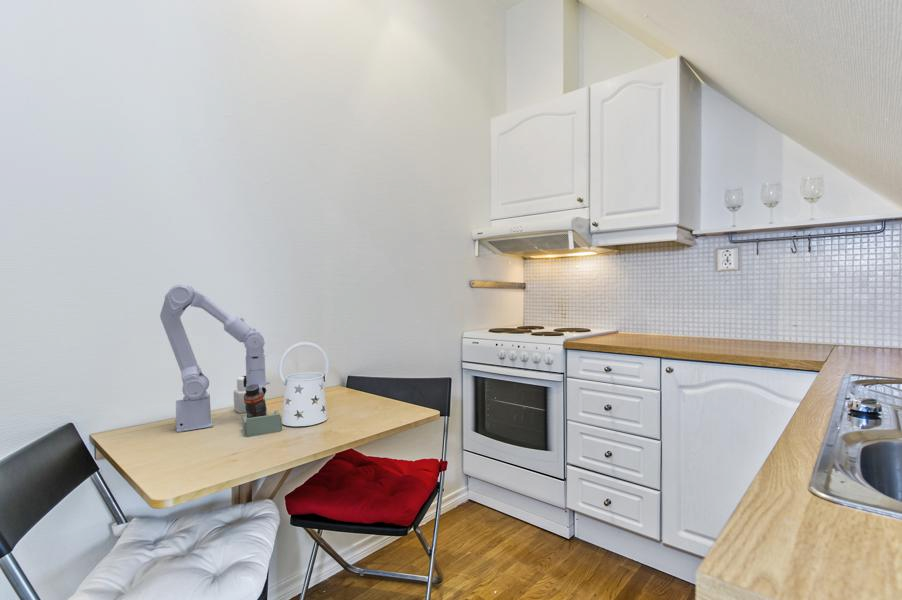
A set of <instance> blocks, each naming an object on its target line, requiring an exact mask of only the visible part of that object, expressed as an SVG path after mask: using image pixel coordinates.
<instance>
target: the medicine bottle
mask: <svg viewBox="0 0 902 600" xmlns="http://www.w3.org/2000/svg"><path fill="white" fill-rule="evenodd" d="M246 384H247V380H246V375H242V376H239V377H237V378H236V389H234V390H233V410H234V411H235V412H237V413H238V414H241V415H242V414H245V413H246V408H245V403H244V395H245V393H246ZM246 414H247V413H246Z"/></svg>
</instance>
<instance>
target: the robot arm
mask: <svg viewBox="0 0 902 600" xmlns="http://www.w3.org/2000/svg"><path fill="white" fill-rule="evenodd" d="M189 306H190V307H195V308H200V309H202V310H203V311H205V312H207V313H208V314H210V315H211V316H212V317H214V318H215V319H216V320H217V321H219V322H220V323H221V324H223V330H224V331H225V332H226V333H227V334H228V335H230V336H232V338H233V339H235V340H236V341H238V342H239V343H243V344H244V345H243V346H244V348H245V353H246V354H245V372H246V373H245V374H246V375H245V376H246V380H247V384H246V387H247V386H249V385H252V384H258V385H259V393H262V391H263V392H264V396H265V395H266V393H267V389H266V385H270V383H271V382H270V381H269V380H267V381H266V379H267V378H266V357H265V356H266V355H265V354H264V353H265V348H264V346H265V344H266V343H265V338H264V336H263V334H261V332H259V331H257V328H255V327H251V326H250V325H249V324H248V323H246V321H245V318H243V317H239V316H237V315H236V316H231V315H229V314H228V313H227V312H226V311H224V310H223V309H222V308H221V307H220V306H219V305H217V304H216V303H215V302H214V301H212V300H211V299H210V298H209V297H208V296H207V295H204V294H203V293H201V292H200V291H198V290H195V289H194V288H193V287H192V286H189V285H185V284H176V285H173V286H172V287H171V288H170V289H169V290H168V292H166V294H165V295H164V302H163V304H162V308H161V311H160V314H159V317H160V321H161V323H162V325H163V328H164V331H165V334H166V336H167V339H168V341H169V343H170V344H169V345H170V347H171V349H172V353H173V354H174V358H175V359H176V362H177V365H178V367H179V370H180V376H181V380H182V394H183V398H182V399H179V400H176V401H175V419H174V420H175V427H176V432H177V433H180V432H187V431H193V430H200V429H207V428H212V427H213V419H212V414H211V411H212V410H211V395H210V393H208V391H207V390H208V389H209V386H210V380H209V378H208V377H207V376H206V375H205V374H204V373H203V372H202V369H201V367H200V366H199V364H198V363H197V360H196V359H197V358H196V357H195V353H194V351H193V348H192V345H191V343H190V341H189V338H188V335H187V332H186V329H185V327H184V324H183V322H182V320H181V317H182V315H183V313H184V312H185V311H186V309H187V308H188V307H189Z"/></svg>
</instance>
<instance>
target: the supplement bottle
mask: <svg viewBox="0 0 902 600" xmlns="http://www.w3.org/2000/svg"><path fill="white" fill-rule="evenodd" d="M244 403H245V408H246V417H247V418H253V417H260V416H267V415H269V414H268V409H267V402H266V397H265V395H264V392H263V391H262V393H259V385H258V384H252V385H249V386H247V387H246V393H245V395H244Z"/></svg>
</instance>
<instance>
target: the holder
mask: <svg viewBox="0 0 902 600" xmlns="http://www.w3.org/2000/svg"><path fill="white" fill-rule="evenodd" d="M282 418H283V417H282V415H281V414H280V412H279V410H274V414H268V415H267V416H260V417H253V418H247V414H245V415H242V431H243V434H244V437H249V438H250V437H254V436H261V435H267V434H273V433H278V432H281V431H282V430H283V427H282V426H283V423H282V421H283V420H282Z"/></svg>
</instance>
